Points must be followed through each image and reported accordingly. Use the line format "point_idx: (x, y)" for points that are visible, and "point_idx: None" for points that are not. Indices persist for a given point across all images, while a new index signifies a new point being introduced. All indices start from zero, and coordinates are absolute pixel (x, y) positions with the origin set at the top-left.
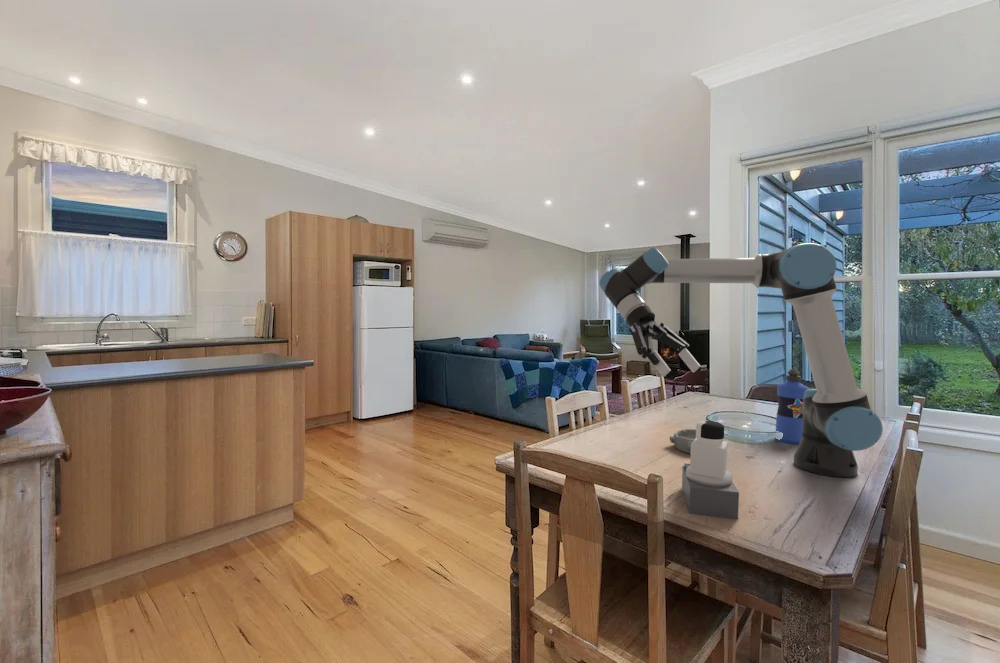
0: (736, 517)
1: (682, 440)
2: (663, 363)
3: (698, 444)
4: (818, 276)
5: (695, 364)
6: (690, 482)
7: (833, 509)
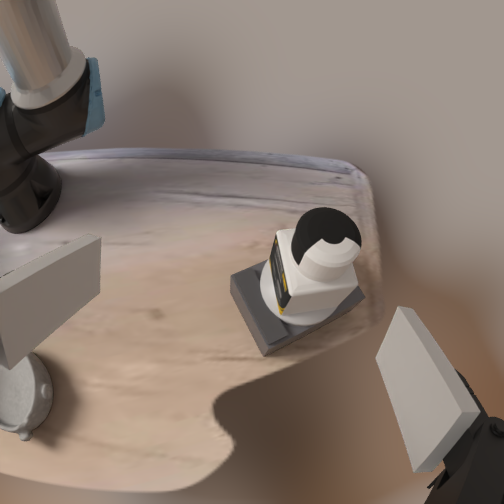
0: None
1: (37, 410)
2: (432, 339)
3: (352, 269)
4: None
5: (88, 256)
6: (345, 304)
7: (188, 172)
